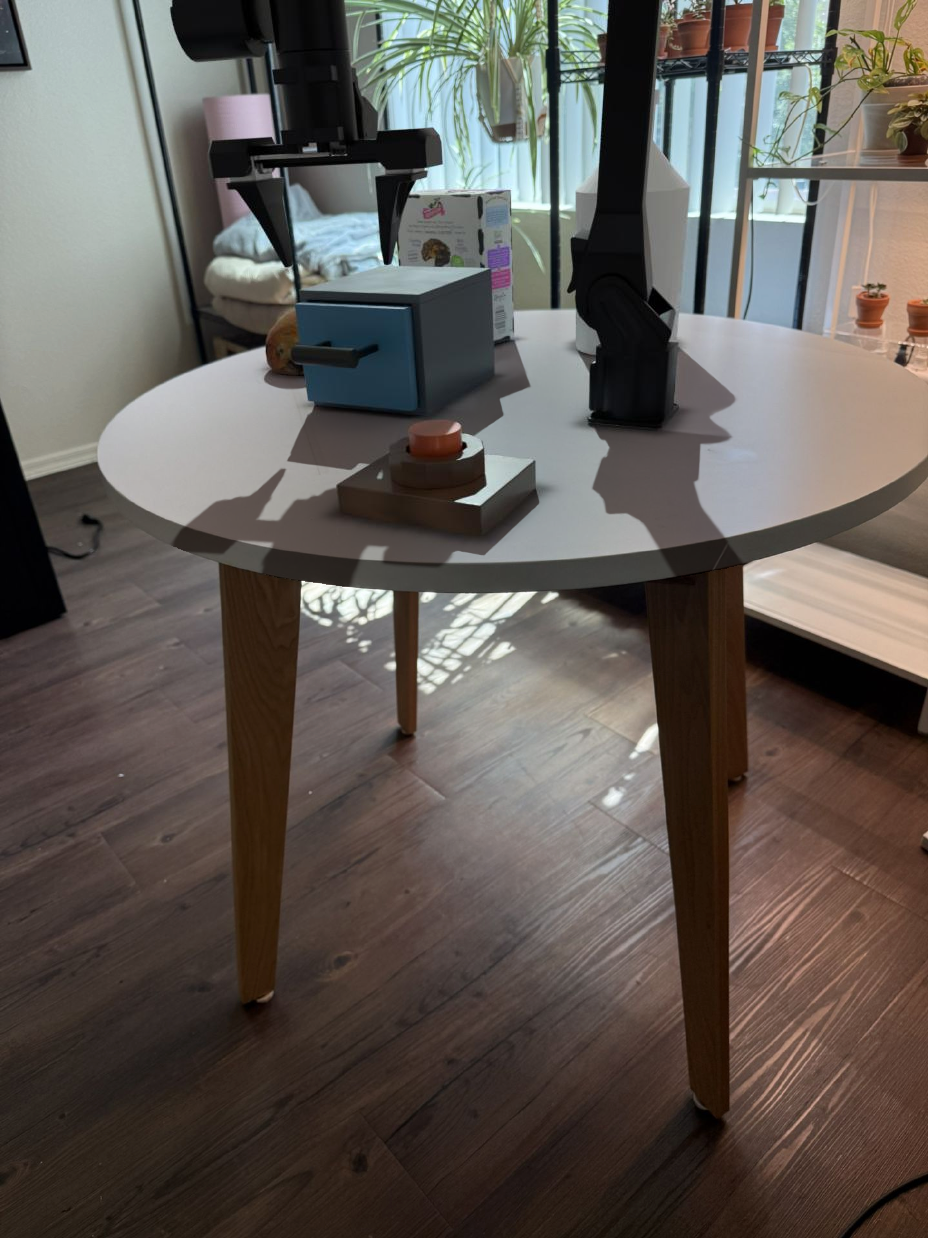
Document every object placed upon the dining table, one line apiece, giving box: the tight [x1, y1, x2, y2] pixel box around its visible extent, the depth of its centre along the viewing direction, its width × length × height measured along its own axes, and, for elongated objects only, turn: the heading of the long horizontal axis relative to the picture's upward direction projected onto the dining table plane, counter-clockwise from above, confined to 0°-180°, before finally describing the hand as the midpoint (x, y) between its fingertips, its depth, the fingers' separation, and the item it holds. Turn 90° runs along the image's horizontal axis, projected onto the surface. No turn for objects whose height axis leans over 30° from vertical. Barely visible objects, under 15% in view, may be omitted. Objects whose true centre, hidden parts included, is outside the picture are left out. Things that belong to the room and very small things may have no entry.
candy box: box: [396, 188, 515, 345], centre depth 104 cm, size 14×6×16 cm, turn 48°
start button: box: [407, 419, 463, 458], centre depth 60 cm, size 4×4×2 cm
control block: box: [335, 433, 537, 538], centre depth 61 cm, size 11×9×4 cm
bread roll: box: [265, 309, 304, 376], centre depth 98 cm, size 10×10×8 cm
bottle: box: [575, 88, 691, 356], centre depth 94 cm, size 12×12×25 cm
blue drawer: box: [291, 300, 419, 411], centre depth 82 cm, size 18×11×9 cm, turn 153°
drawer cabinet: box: [298, 265, 496, 417], centre depth 85 cm, size 15×13×11 cm
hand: (337, 265), depth 76 cm, fingers open, 9 cm apart
